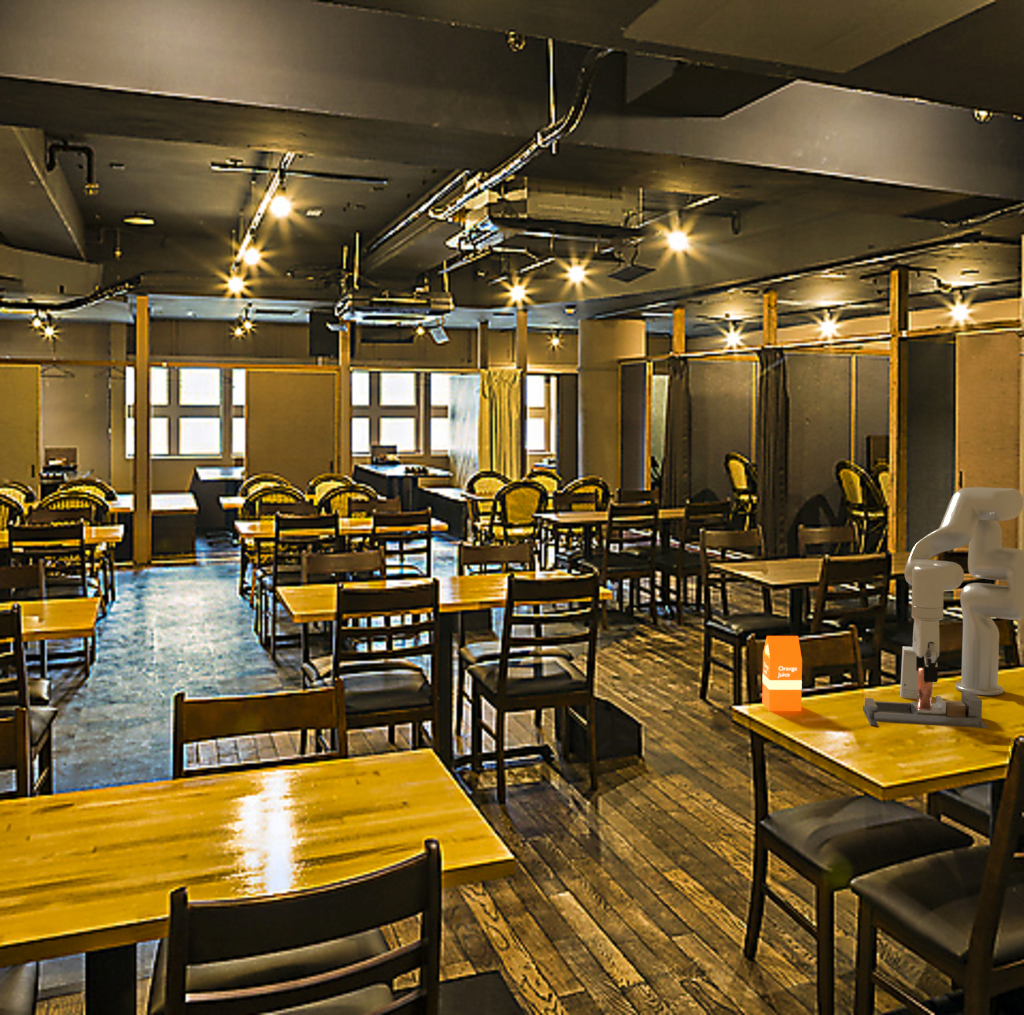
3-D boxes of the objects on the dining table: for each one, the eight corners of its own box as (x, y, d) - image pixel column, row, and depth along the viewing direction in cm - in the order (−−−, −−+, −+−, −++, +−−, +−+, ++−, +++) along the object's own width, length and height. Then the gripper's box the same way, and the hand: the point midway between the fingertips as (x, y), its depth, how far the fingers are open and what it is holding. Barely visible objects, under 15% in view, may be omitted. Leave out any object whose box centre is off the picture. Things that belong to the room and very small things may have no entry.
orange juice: (801, 711, 252) (802, 638, 250) (769, 711, 252) (770, 639, 250) (793, 703, 259) (794, 632, 258) (761, 703, 260) (762, 632, 258)
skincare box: (900, 701, 260) (902, 649, 259) (899, 696, 265) (901, 645, 264) (933, 704, 257) (934, 652, 256) (931, 698, 262) (933, 647, 261)
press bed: (862, 710, 252) (863, 684, 252) (974, 716, 246) (975, 689, 245) (870, 725, 239) (871, 698, 238) (988, 732, 232) (989, 704, 232)
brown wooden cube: (942, 715, 243) (943, 700, 243) (960, 716, 242) (961, 701, 242) (946, 720, 239) (947, 705, 238) (965, 721, 238) (965, 706, 237)
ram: (911, 710, 246) (912, 664, 245) (939, 712, 245) (940, 666, 244) (916, 719, 239) (918, 672, 238) (946, 720, 237) (947, 673, 236)
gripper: (905, 605, 249) (905, 667, 251) (918, 619, 233) (917, 685, 234) (935, 605, 248) (934, 667, 249) (950, 620, 231) (949, 686, 233)
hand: (926, 676), depth 242 cm, fingers open, 9 cm apart
